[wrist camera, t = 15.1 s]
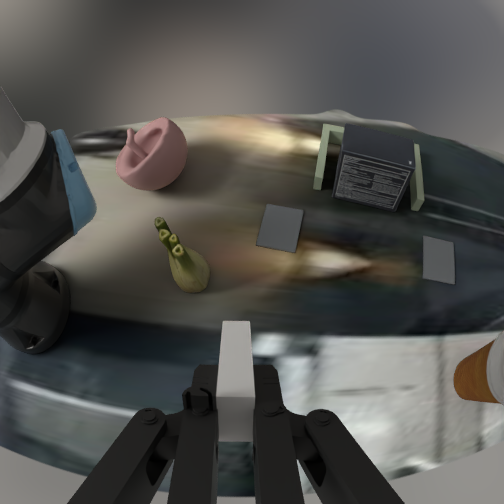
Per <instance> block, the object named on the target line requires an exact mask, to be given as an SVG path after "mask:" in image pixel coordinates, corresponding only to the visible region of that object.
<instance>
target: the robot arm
mask: <svg viewBox="0 0 504 504" xmlns="http://www.w3.org/2000/svg"><path fill="white" fill-rule="evenodd" d="M96 209H97V206H96V202H95V200H94V197H93V195H92V193H91V191H90V189H89V187H88V185H87V182H86V180H85V178H84V176H83V174H82V171H81V169H80V167H79V165H78V163H77V160H76V158H75V156H74V153H73V151H72V149H71V147H70V144H69V142H68V140H67V138H66V135H65V133H64V131H63V130H62V129H59V130H57V131H52V132H51V134H50V135H49V133H48V132H47V130H46V129H45V127H44V126H43V125H42V124H40V123H38V122H23V121H22V119H21V118H20V116H19V115H18V113H17V112H16V110H15V109H14V107H13V105H12V104H11V102H10V101H9V99H8V98H7V96H6V94H5V93H4V91H3V89H2V88H1V86H0V336H1V337H2V338H3V339H4V340H5V341H6V342H7V343H8V344H9V345H11V346H12V347H13V348H15V349H17V350H19V351H22V352H25V353H28V354H37V353H41V352H43V351H45V350H47V349H48V348H50V347H51V346H52V345H53V344H54V343H55V342H56V341H57V339H58V338H59V337H60V335H61V333H62V332H63V330H64V327H65V325H66V322H67V319H68V315H69V309H70V293H69V288H68V285H67V282H66V280H65V278H64V276H63V275H62V274H61V273H60V272H59V271H58V270H57V269H55V268H54V267H53V266H51V265H50V264H48V263H46V262H43V261H41V260H42V259H43V258H45V257H46V256H47V255H49V254H50V253H51V252H52V251H54V250H55V249H56V248H58V247H59V246H60V245H62V244H63V243H64V242H66V241H67V240H68V239H70V238H71V237H73V236H75V235H76V234H77V232H78V231H79V230H80V229H81V228H83V227H84V226H85V225H86V224H87V223H89V222H90V221H91V220H92V219H93V217H94V216H95V214H96ZM182 398H183V406H184V410H182V411H180V412H178V413H174V414H169V415H165V414H164V413H163V412H162V411H161V410H158V409H156V408H145V409H142V410H140V411H138V412H137V413H136V414H135V415H134V416H133V418H132V419H131V420H130V422H129V423H128V424H127V426H126V427H125V428H124V430H123V431H122V432H121V434H120V435H119V436H118V437H117V439H116V440H115V441H114V443H113V444H112V445H111V447H110V448H109V449H108V451H107V452H106V453H105V455H104V456H103V457H102V459H101V460H100V461H99V463H98V464H97V465H96V466H95V468H94V469H93V470H92V472H91V473H90V474H89V476H88V477H87V478H86V480H85V481H84V482H83V484H82V485H81V486H80V487H79V489H78V490H77V491H76V493H75V494H74V495H73V497H72V498H71V499H70V501H69V502H68V503H67V504H150V503H151V501H152V499H153V497H154V495H155V493H156V492H157V490H158V488H159V486H160V484H161V483H162V481H163V479H164V477H165V475H166V473H167V472H168V470H169V468H170V466H171V464H172V462H173V459H175V461H174V466H173V472H172V478H171V484H170V490H169V495H168V502H167V504H216V503H217V478H218V456H219V446H218V441H233V442H253V458H252V461H253V462H254V481H255V499H256V504H305V503H304V498H303V492H302V487H301V481H300V476H299V471H298V465H297V460H299V463H300V465H301V467H302V468H303V470H304V472H305V474H306V476H307V477H308V479H309V481H310V483H311V485H312V486H313V488H314V490H315V492H316V493H317V495H318V497H319V499H320V500H321V502H322V504H404V502H403V501H402V499H401V498H400V497H399V496H398V494H397V493H396V492H395V491H394V489H393V488H392V487H391V486H390V484H389V483H388V482H387V481H386V479H385V478H384V477H383V475H382V474H381V473H380V472H379V470H378V469H377V468H376V466H375V465H374V464H373V463H372V461H371V460H370V459H369V457H368V456H367V455H366V454H365V452H364V451H363V450H362V448H361V447H360V446H359V444H358V443H357V442H356V441H355V439H354V438H353V437H352V435H351V434H350V433H349V431H348V430H347V429H346V427H345V426H344V425H343V423H342V422H341V421H340V419H339V418H338V417H337V416H336V415H335V414H334V413H333V412H331V411H329V410H324V409H318V410H314V411H311V412H310V413H309V414H308V415H307V416H304V415H298V414H294V413H292V412H290V411H289V410H287V409H286V407H285V406H284V404H283V399H282V394H281V388H280V383H279V377H278V372H277V370H276V369H275V368H274V366H273V365H253V360H252V346H251V331H250V321H223V326H222V336H221V347H220V358H219V365H199V366H198V367H197V368H196V369H195V371H194V376H193V381H192V386H191V387H189V388H187V389H186V390H185V391H184V392H183V394H182ZM296 459H297V460H296Z"/></svg>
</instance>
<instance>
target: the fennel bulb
mask: <svg viewBox="0 0 504 504" xmlns="http://www.w3.org/2000/svg"><path fill="white" fill-rule="evenodd" d="M155 226H156V228H157V229H158V232H159V239H160V241H161V242H162V243H163V244H164V245H165V247H166V248H167V251H168V256H169V262H170V267H171V271H172V275H173V278H174V280H175V282H176V283H177V285H178V286H179V287H180V289H181V290H183V291H184V292H187V293H193V292H201V291H203V290H204V289H205V288H206V287H207V284H208V281H209V278H210V267H209V264H208V262H207V261H206V259H205V258H203V257H202V256H201V255H200V254H198V253H197V252H195V251H193V250H192V249H189V248H187V247H185V246H184V245H182V244H180V241H179V238H178V236H177V235H176V234H172V233H171V231H170V229H169V227H168V225H167V224H166V222H165V220H164V219H163V218H161V217H157V218H156V219H155Z"/></svg>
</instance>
